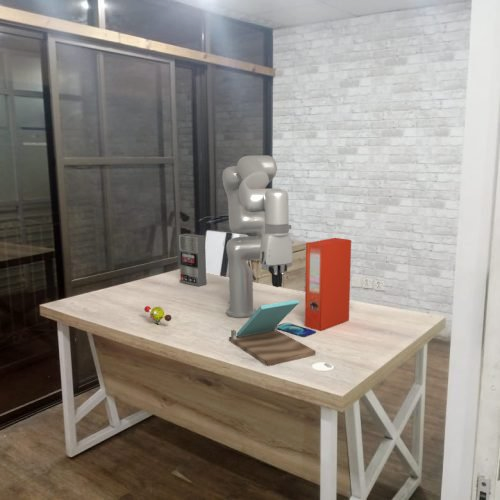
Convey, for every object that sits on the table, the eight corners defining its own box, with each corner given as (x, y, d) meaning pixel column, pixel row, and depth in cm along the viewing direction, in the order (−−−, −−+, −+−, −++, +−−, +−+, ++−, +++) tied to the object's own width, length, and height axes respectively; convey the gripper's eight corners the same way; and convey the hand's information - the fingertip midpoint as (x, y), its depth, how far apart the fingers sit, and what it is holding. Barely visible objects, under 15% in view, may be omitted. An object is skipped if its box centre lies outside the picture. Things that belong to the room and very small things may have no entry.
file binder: (349, 321, 203) (351, 239, 197) (321, 331, 191) (322, 245, 186) (332, 316, 209) (334, 237, 203) (304, 326, 197) (305, 242, 191)
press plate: (237, 338, 181) (235, 334, 182) (271, 331, 188) (270, 327, 189) (262, 309, 164) (260, 305, 164) (299, 303, 170) (297, 299, 171)
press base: (229, 341, 182) (229, 329, 182) (273, 332, 191) (273, 321, 190) (267, 366, 160) (267, 352, 159) (315, 355, 168) (315, 342, 168)
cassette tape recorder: (179, 282, 269) (177, 234, 265) (187, 280, 274) (186, 233, 269) (198, 286, 260) (196, 237, 256) (206, 284, 265) (205, 235, 261)
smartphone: (303, 336, 185) (273, 326, 196) (303, 338, 185) (273, 329, 196) (317, 331, 190) (286, 322, 201) (317, 333, 190) (286, 324, 201)
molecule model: (139, 320, 207) (139, 303, 206) (152, 317, 211) (151, 301, 210) (163, 331, 194) (162, 313, 193) (176, 327, 197) (175, 310, 196)
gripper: (290, 226, 172) (290, 281, 175) (250, 230, 165) (251, 286, 167) (302, 229, 165) (302, 285, 168) (262, 232, 158) (262, 291, 161)
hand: (277, 286), depth 168 cm, fingers closed
